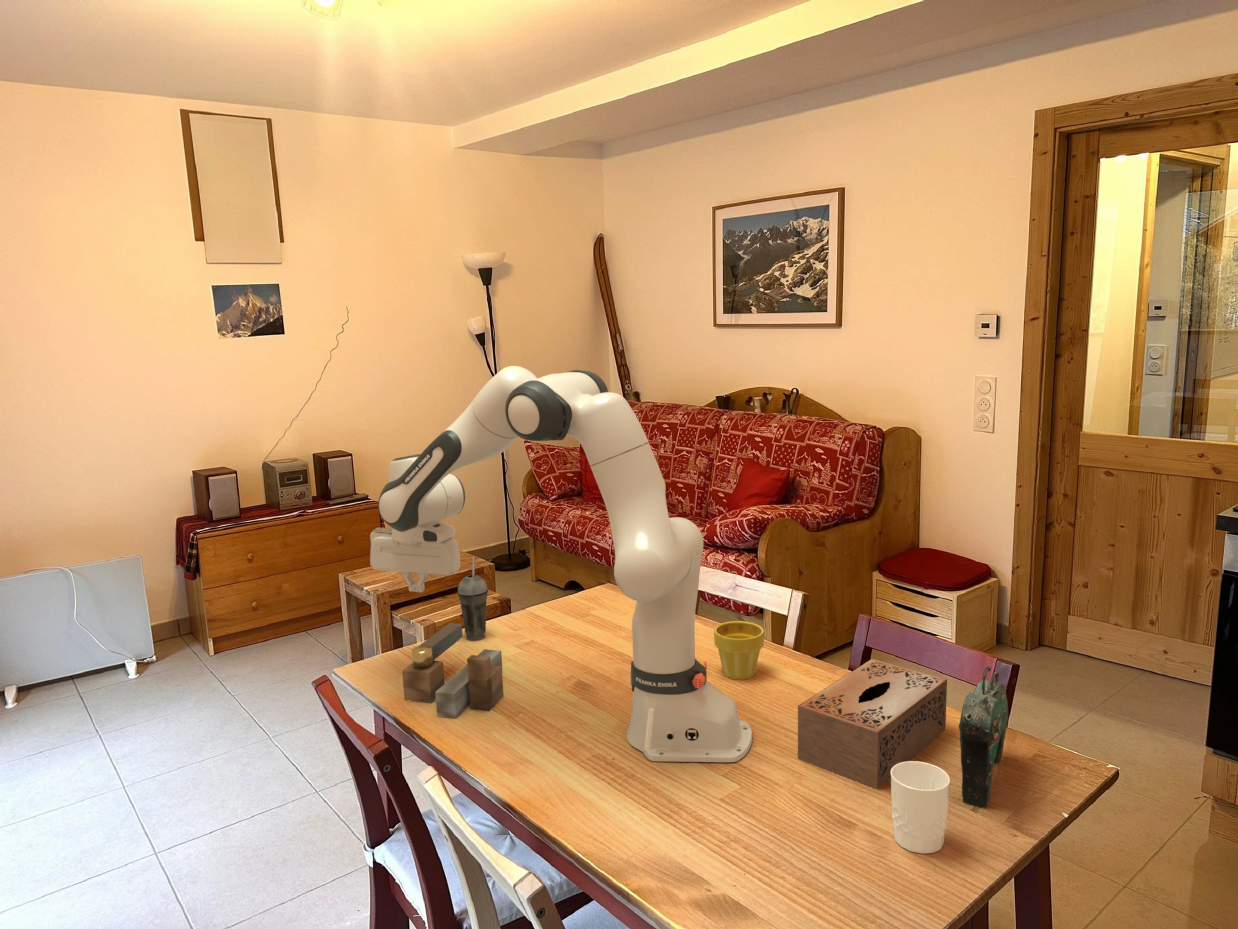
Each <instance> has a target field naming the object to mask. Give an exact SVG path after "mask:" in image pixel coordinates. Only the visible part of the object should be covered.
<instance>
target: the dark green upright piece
mask: <svg viewBox="0 0 1238 929" xmlns="http://www.w3.org/2000/svg"><path fill="white" fill-rule="evenodd" d="M991 670H992V666H989V665H988V666H986V667H985V669H984V671H983V673H982V678H981V679H982V680H981V681H980V682H979V683H977V685H976V687H975V688H974V690H973V692H969V693H967V694H966V695H965V697H964V702H963V705H962V708H961V709H962V710H961V714H960V719H959V724H958V730H959V742H960V763H961V765H960V766H961V774H962V775H961V777H962V780H961V797H962V802H963V803H965V804H967V805H968V804H969V805H971V806H975V807H978V808H983V809H987V807H988V805H989V802H990V798H991V792H992V785H993V773H994V763H995V765H996V764H1000V763H1001V762H1002V758H1003V755H1004V754H1003V752H1004V746H1005V745H1004V744H1005V739H1006V733H1007V727H1008V722H1009V706H1008V705H1009V704H1008V697H1007V692H1006V687H1005V685H1004V684H1003V683H1001V682H999V672H998V671H995V672H993V674H992V676H991V678H990V680H987V674H988V672H990V671H991ZM994 679H995V680H994Z"/></svg>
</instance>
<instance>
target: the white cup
mask: <svg viewBox="0 0 1238 929" xmlns="http://www.w3.org/2000/svg"><path fill="white" fill-rule="evenodd" d="M950 785H951V778H950V775H949V774H948V773H947V772H946V771H945V770H943V769H942V768H941V767H939V766H936V765H935V764H932V763H928V762H925V761H919V760H918V761H916V760H915V761H914V760H910V761H906V762H901V763H898V764H896V765H894V766H893V767H892V769H891V778H890V796H891V798H890V800H891V816H892V817H891V820H892V832H893V838H894V841H895V842H896V843H897V844H898V845H899V846H900V847H901V848H903V849H906V850H907V851H909V852H912V853H917V854H933V853H936V852H938V851H940V850H941V849H942V847H943V846H944V843H945V831H946V825H947V817H948V808H949V798H950V797H949V796H950V795H949V794H950Z"/></svg>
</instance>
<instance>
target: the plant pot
mask: <svg viewBox="0 0 1238 929" xmlns="http://www.w3.org/2000/svg"><path fill="white" fill-rule="evenodd" d="M713 635H714V636H713V640H714V641H713V642H714V646H715V647H716V649H717V651H718V655H719V660H720V663H721V667H722V668H721V669H722V672H723V675H724V676H725V677H727V678H729V679H732V680H747V679H750V678H752V677H754V675H755V674H756V671H757V670H756V669H757V664H758V660H759V656H760V652H761V649H763V647H764V642H765V630H764V628H763V627H762V626H761V625H759V624H756V623H754V622H751V621H744V620H743V621H742V620H736V621H735V620H734V621H733V620H732V621H725V622H722V623H719V624H718V625H716V626H715V628H714V630H713Z"/></svg>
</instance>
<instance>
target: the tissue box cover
mask: <svg viewBox="0 0 1238 929" xmlns="http://www.w3.org/2000/svg"><path fill="white" fill-rule="evenodd" d="M947 689H948V679H947V678H945V677H941V676H937V675H933V674H929V673H926V672H922V671H919V670H915V669H911V668H907V667H905V666H904V667H903V666H900V665H896V664H892V663H888V662H885V661H882V660H878V659H874V658H871V659H869V660H868V661H866V662H864V663H863V664H861V665H860V666H859V667H857V668H855V669H853V670H852V671H851V672H848V673H847V674H846V675H844V676H843V677H841V678H840V679H838V680H836V681H834V682H833V683H831V684H830V685H828V686H827V687H825V688H824V689H822V690H820V691H819V692H817V693H816V694H814V695H812V696H811V697H809V698H808V699H806V700H804V701H803V702H802V703H800V704H798V705H797V760H798V759H799V761H801V762H804V763H807V764H808V765H809V764H810V765H811V764H812V766H814V765H815V766H814V767H817V768H819V769H822V770H824V769H825V770H824V771H827V772H830V773H832V772H833V774H836V775H837V774H838V775H837V776H840V777H843V778H845V777H846V778H845V779H848V780H850V779H851V781H854V782H856V781H857V782H856V783H858V782H859V784H861V785H863V784H864V786H866V787H869V788H871V787H872V789H874V790H876V789H877V790H878V789H879V788H880V787H882V786H883V785H884V784H885V783H886V782H887V781H889V778H890V777H891V769H892V767H893V766H894V765H896V764H898V763H901V762H906V761H912V760H913V759H914V758H915V757H916V756H917V755H919V754H920V753H921V752H922V751H923V750H925V748H927V747H928V746H929V745H930V744H931V743H932V742H934V741H935V740H936V739H937V738H938V737H939V736H941V735H942V734H943V733H944V732H945V731H946V730H947V729H946V728H947V727H946V725H947V722H946V720H947V698H948V697H947V695H948V694H947V693H948V692H947V691H948V690H947ZM942 732H943V733H942ZM941 733H942V734H941ZM911 759H912V760H911ZM890 779H891V778H890ZM882 784H883V785H882Z"/></svg>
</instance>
